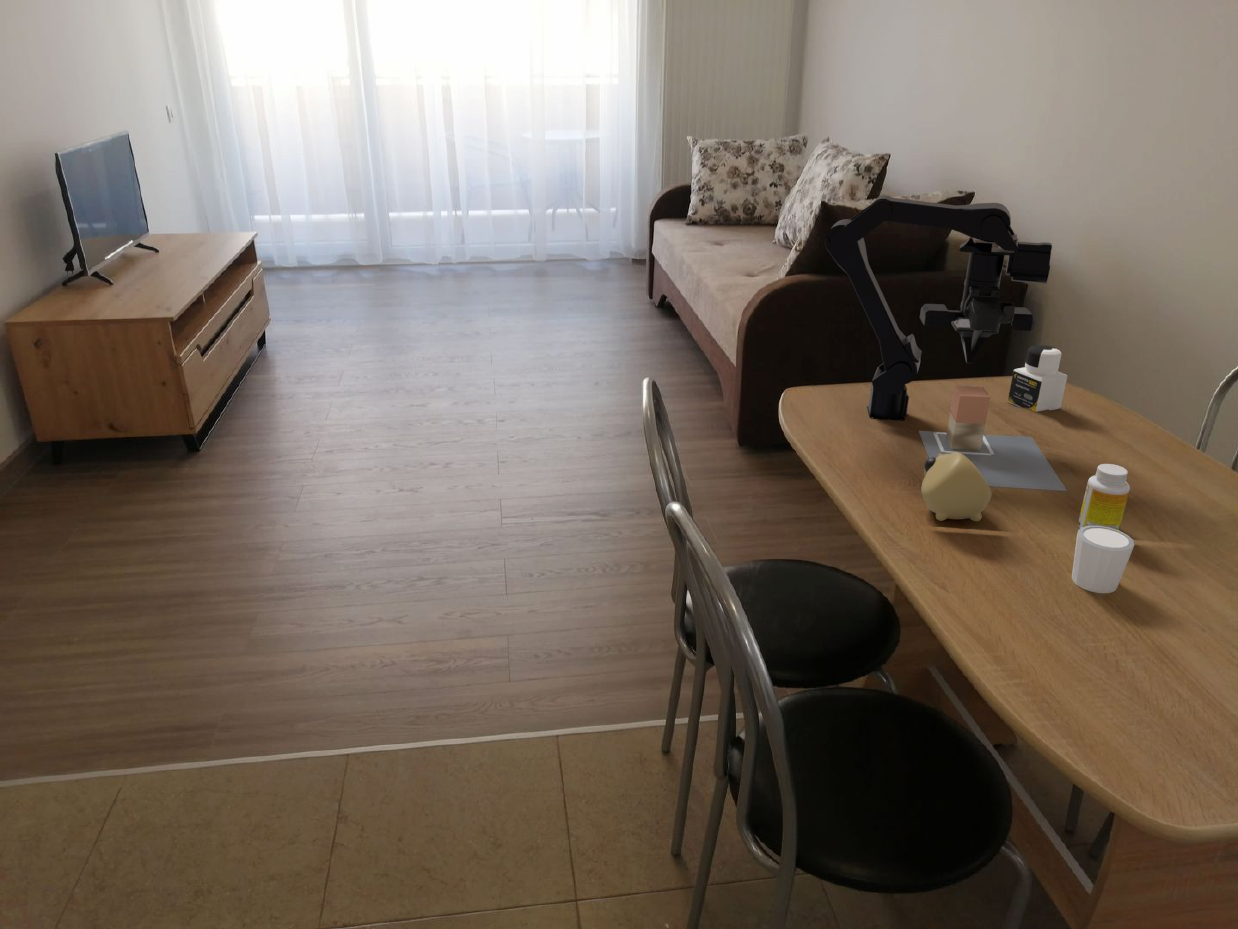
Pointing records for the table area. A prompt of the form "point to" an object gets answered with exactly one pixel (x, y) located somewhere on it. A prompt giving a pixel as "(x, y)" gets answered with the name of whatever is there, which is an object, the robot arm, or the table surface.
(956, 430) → the base block
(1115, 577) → the white cylinder
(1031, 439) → the build mat
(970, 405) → the top block
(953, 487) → the toy pig
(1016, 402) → the medicine bottle
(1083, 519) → the supplement bottle
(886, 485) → the table surface
